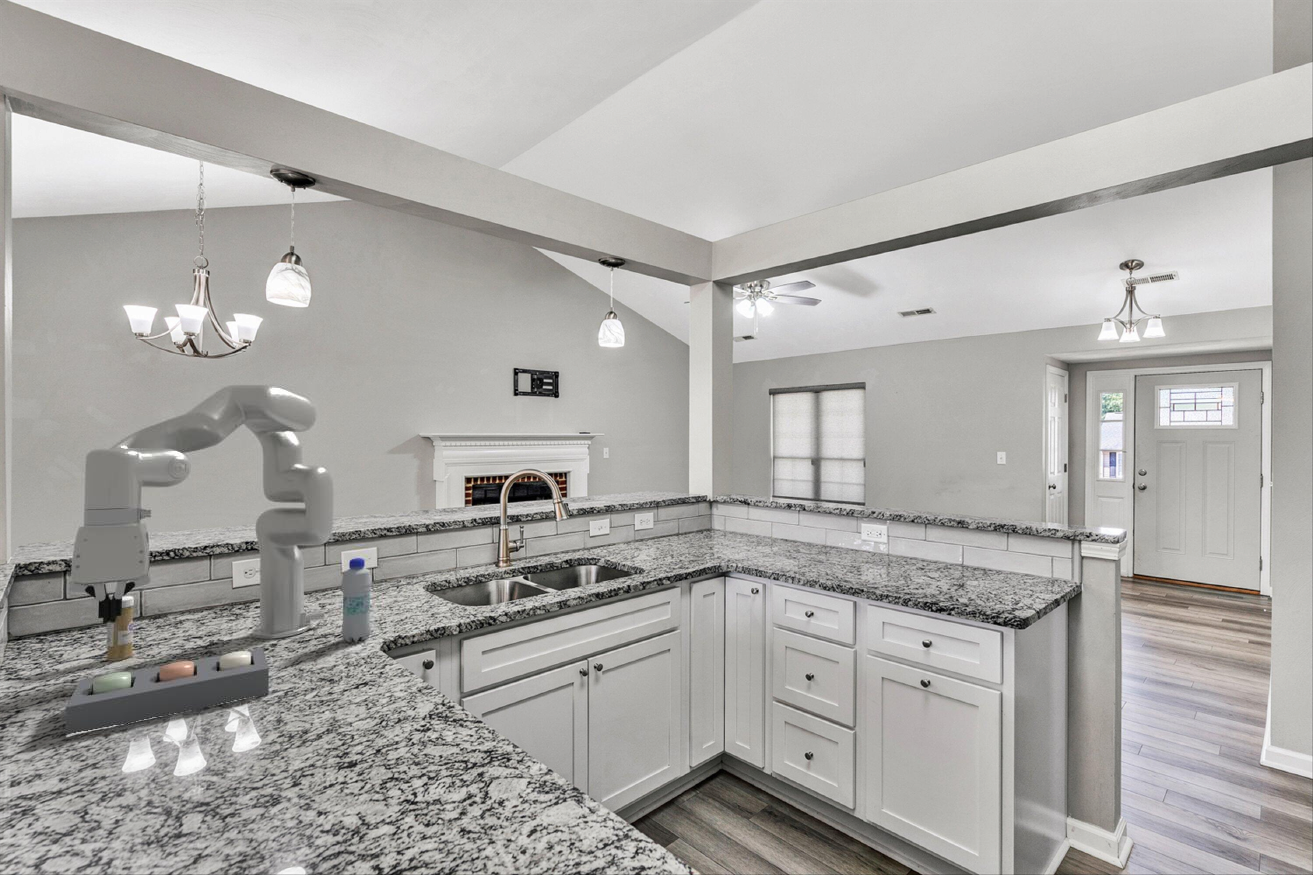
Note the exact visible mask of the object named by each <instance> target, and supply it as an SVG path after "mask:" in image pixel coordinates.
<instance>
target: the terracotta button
mask: <svg viewBox="0 0 1313 875" xmlns="http://www.w3.org/2000/svg"><path fill="white" fill-rule="evenodd" d="M162 666H163V667H161V668H160V682H163V681H169V680H174V679H179V678H185V677H190V676H194V662H192V660H183V661H177V662H172V663H168V664H165V666H164V665H162Z"/></svg>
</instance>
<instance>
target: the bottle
mask: <svg viewBox="0 0 1313 875" xmlns="http://www.w3.org/2000/svg"><path fill="white" fill-rule="evenodd" d="M365 565H366V564H365V559H363V558H361V557H356V558H352V559H350V560H349V562H348V566H349V569H347V570H346V571H344V572H343V573H342V580H341V585H340V586H341V593H342V624H341V635H342V636H341V637H342V640H344V641H345V642H347V643H351V642H352V639H353V641H354V643H357V642H359V639H360V640H361V641H365V640H366V639H368V638H369V636H370V634H371V625H372V624H371V613H370V612H371V611H370V610H371V609H370V608H371V605H370V604H371V599H370V598H371V590H372V582H373V581H372V578H371V571H370V570H369V569H368V568H365ZM367 637H368V638H367Z"/></svg>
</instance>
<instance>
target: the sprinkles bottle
mask: <svg viewBox="0 0 1313 875" xmlns="http://www.w3.org/2000/svg"><path fill="white" fill-rule="evenodd" d="M134 604H135V600H134V597H133V596H130V595H127V596H125V595H124V596H123V597H122V615H121V616H117V620H116V622H112V623H111V622H110V621H109V622H107V623H106V647H107V650H106V651H107V654H106V655H107V656H106V660H107V661H109V662H115V661H116V662H117V661H123V660H126V659H129V658H131V657H132V656H134V652H133V649H134V648H133V641H134V621H133V620H134V619H133V617H134V616H133V614H134V613H133V612H134V611H133V610H134V608H133V607H134Z"/></svg>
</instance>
